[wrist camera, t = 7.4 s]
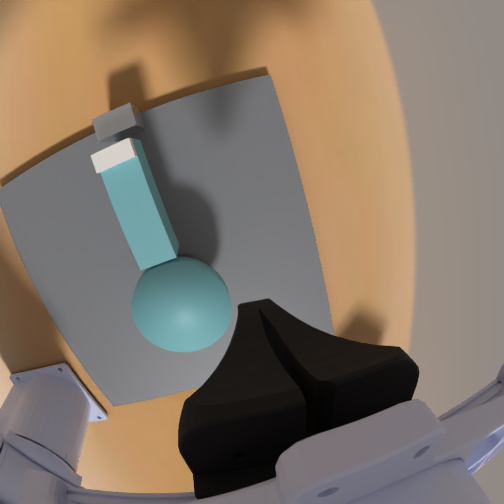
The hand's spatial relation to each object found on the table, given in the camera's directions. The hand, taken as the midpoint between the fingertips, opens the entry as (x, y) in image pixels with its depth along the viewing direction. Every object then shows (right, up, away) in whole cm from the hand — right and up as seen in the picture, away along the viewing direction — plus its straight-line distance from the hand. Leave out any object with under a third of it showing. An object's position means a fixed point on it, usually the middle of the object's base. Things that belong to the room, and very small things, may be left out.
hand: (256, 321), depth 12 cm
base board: (-6, +1, +9) cm, 11 cm away
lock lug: (-8, +11, +5) cm, 15 cm away
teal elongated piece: (-6, +3, +6) cm, 9 cm away
